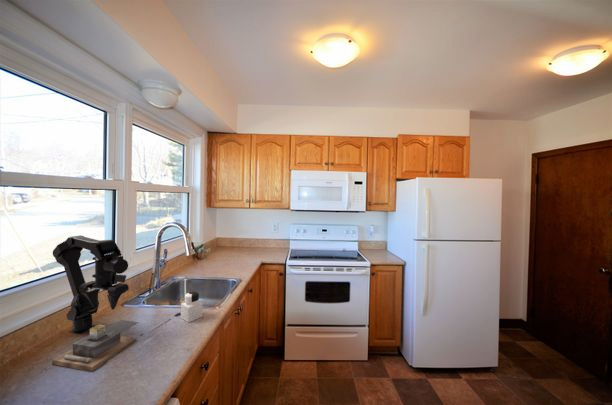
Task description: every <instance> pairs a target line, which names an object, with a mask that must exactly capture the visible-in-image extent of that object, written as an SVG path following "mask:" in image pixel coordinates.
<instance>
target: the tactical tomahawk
mask: <svg viewBox="0 0 612 405" xmlns="http://www.w3.org/2000/svg"><path fill="white" fill-rule="evenodd" d="M179 316H181V312H177V313H176V314H174V317H179ZM171 320H172V318H169V319H167V320H165V322H163V323H162V324H160V325H158V326H157V327H155V328H154V329H152V330H150V331H149V332H148V334H150V333H151V332H154V331H155V330H156V329H158V328H160V327H161V326H163V325H164V324H167V323H168V322H169V321H171ZM143 335H144V333H142V334H140V335H139V336H140V337H141V336H143Z"/></svg>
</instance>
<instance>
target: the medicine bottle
mask: <svg viewBox="0 0 612 405" xmlns="http://www.w3.org/2000/svg"><path fill="white" fill-rule="evenodd" d="M199 295H200V294H199V292H198V291H190V292H187V293H186V294H185V295H184V302H183V303H180V313H181V314H180V319H182V320H184V321H186V322H187V323H190V322H191V323H192V322H193V321H196V320H198V319H201V318H203V302H201V301H200V300H199V298H200V296H199Z"/></svg>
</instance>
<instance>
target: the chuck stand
mask: <svg viewBox="0 0 612 405" xmlns="http://www.w3.org/2000/svg"><path fill="white" fill-rule="evenodd" d="M136 342H137V338H135V337H128V336H124V335H123V336H122V335H121V333H120V332H114V331H107V330H106V337H104V338H103V339H101V340H99V341H97V342H92V341H90V334H89V335H87V336H85V337H83V338H81V339H79V340H77V341H75V342H74V343H72V349H70V350H69V351H66V352H64V353H63V354H60V355H58V356H57V357H55V358H53V359H52V360H51V365H53V366H59V367H65V368H71V369H76V370H82V371H87V372H94V371H95V370H97V369H98V368H99V367H101V366H103V365H104V364H105V363H107V361H109V360H110V359H111V358H112V357H114V356H116V355H117V354H119V353H121V352H122V351H123V350H125V349H126V348H128V347H130V346H131V345H132V344H134V343H136Z"/></svg>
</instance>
